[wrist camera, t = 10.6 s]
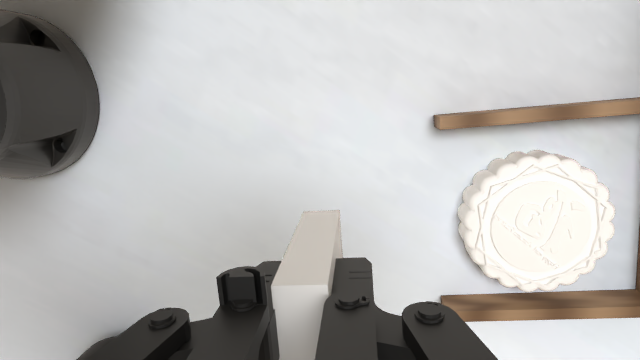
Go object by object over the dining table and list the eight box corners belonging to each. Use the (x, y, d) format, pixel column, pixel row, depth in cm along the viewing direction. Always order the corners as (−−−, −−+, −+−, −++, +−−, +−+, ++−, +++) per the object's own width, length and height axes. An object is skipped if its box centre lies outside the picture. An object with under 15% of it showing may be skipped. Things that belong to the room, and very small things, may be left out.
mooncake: (627, 208, 37) (655, 221, 33) (526, 302, 40) (541, 323, 36) (524, 120, 36) (541, 124, 33) (428, 221, 39) (434, 234, 36)
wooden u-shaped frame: (441, 305, 40) (447, 322, 37) (433, 114, 37) (439, 117, 34) (647, 299, 38) (670, 316, 35) (660, 95, 34) (687, 96, 32)
